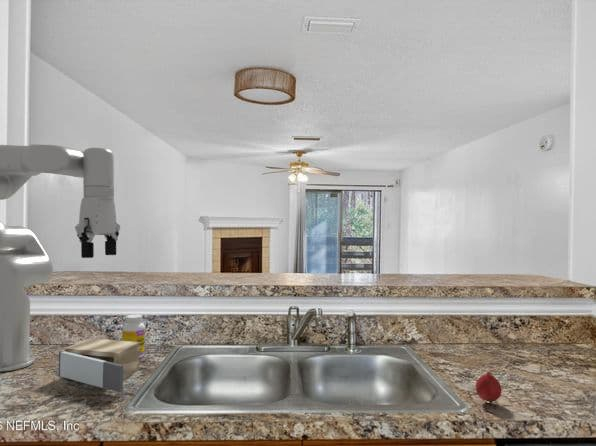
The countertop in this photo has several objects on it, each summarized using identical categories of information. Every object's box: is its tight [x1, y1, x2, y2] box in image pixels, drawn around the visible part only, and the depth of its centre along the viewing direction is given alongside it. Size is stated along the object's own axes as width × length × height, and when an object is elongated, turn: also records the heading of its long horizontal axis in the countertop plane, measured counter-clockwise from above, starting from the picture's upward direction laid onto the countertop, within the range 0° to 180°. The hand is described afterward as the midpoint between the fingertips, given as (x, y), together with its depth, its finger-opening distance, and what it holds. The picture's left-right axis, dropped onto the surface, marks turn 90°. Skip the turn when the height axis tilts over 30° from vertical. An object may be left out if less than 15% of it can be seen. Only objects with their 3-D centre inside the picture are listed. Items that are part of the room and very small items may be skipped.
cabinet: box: [64, 337, 140, 381], centre depth 115 cm, size 16×10×8 cm, turn 80°
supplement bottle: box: [121, 313, 146, 359], centre depth 130 cm, size 7×7×13 cm
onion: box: [475, 371, 502, 403], centre depth 102 cm, size 6×6×8 cm
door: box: [57, 350, 124, 393], centre depth 106 cm, size 23×1×6 cm, turn 65°
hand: (99, 256), depth 113 cm, fingers open, 9 cm apart
